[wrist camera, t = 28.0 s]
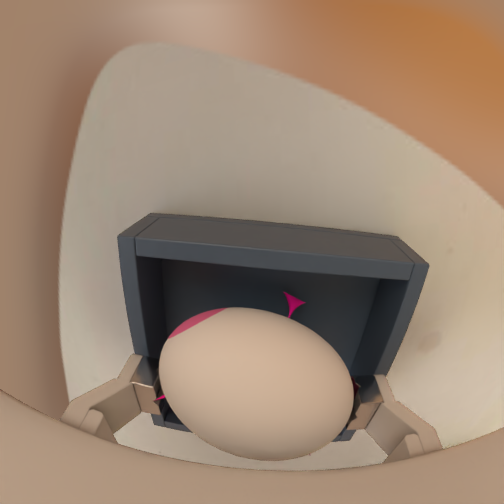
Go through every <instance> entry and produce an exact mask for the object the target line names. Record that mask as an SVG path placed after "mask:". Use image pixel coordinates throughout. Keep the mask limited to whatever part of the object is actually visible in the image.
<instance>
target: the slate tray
mask: <svg viewBox="0 0 504 504" xmlns="http://www.w3.org/2000/svg"><path fill="white" fill-rule="evenodd" d="M117 238H118V249H119V259H120V268H121V276H122V283H123V290H124V297H125V304H126V310H127V315H128V321H129V326H130V332H131V337H132V342H133V346H134V351H135V354H138V355H142V356H147V357H152V358H156V359H160V355H161V351H162V349H163V346H164V344H165V342H166V341H167V339H168V337H169V336H170V335H171V334H172V332H173V331H174V330H175V329H176V328H177V327H178V326H179V325H181V324H182V323H183V322H184V321H186V320H188V319H189V318H191V317H193V316H196V315H198V314H200V313H203V312H206V311H210V310H214V309H220V308H231V307H242V308H253V309H259V310H265V311H269V312H273V313H276V314H279V315H282V316H285V317H287V318H288V316H289V304H288V301H287V298H286V296H285V294H284V292H285V293H287V294H289V295H291V296H293V297H295V298H297V299H299V300H301V301H303V302H305V303H304V304H302V305H300V306H298V307H297V308H296V309H295V310H294V311H293V313H292V314H291V316H290V319H292V320H295V321H297V322H298V323H300V324H302V325H304V326H306V327H308V328H309V329H311V330H312V331H314V332H315V333H317V334H318V335H319V336H321V337H322V338H323V339H324V340H325V341H326V342H328V343H329V344H330V345H331V346H332V347H333V348H334V350H335V351H336V352H337V353H338V354H339V356H340V357H341V359H342V360H343V362H344V363H345V365H346V367H347V369H348V371H349V374H350V376H355V375H379V374H384V375H385V376H386V375H387V373H388V371H389V369H390V367H391V365H392V363H393V361H394V358H395V356H396V354H397V352H398V350H399V347H400V345H401V343H402V340H403V338H404V336H405V333H406V331H407V328H408V326H409V323H410V321H411V318H412V315H413V313H414V310H415V307H416V305H417V302H418V299H419V296H420V293H421V290H422V287H423V284H424V281H425V278H426V275H427V272H428V269H429V264H428V263H427V262H426V261H425V260H424V259H423V258H422V257H420V256H419V255H418V254H417V253H416V252H415V251H414V250H413V249H412V248H410V247H409V246H408V245H407V244H406V243H405V242H403V241H402V240H401V239H400V238H399V237H397V236H390V235H382V234H374V233H366V232H357V231H349V230H340V229H331V228H322V227H313V226H303V225H293V224H283V223H273V222H262V221H251V220H239V219H227V218H214V217H201V216H187V215H173V214H157V213H150V214H148V215H147V216H146V217H144V218H142V219H141V220H139V221H138V222H136V223H135V224H134V225H132V226H131V227H129V228H128V229H126V230H125V231H124V232H122V233H121V234H119V235H118V237H117ZM164 402H165V405H164V407H163V410H162V413H161V415H156V414H151V416H152V419H153V423H154V425H157V426H162V427H166V428H171V429H175V430H180V431H186V432H191V433H193V432H192V431H190V430H189V429H188V428H187V427H186V426H185V425H184V424H183V423H182V422H181V420H180V419H179V418H178V417H177V416H176V414H175V413H174V412H173V410H172V409H171V407H170V405H169V403H168V402H167V400H166V398H164ZM356 430H357V429H355V430H346V425H345V427H344V428H343V429H342V431H341V432H340V433H339V434H338V435H337V437H336V438H335V439H333V440H332V441H331V442H336V441H349V440H350V439H351V438H352V436H353V434H354V433H355V431H356Z"/></svg>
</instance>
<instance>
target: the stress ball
mask: <svg viewBox="0 0 504 504" xmlns="http://www.w3.org/2000/svg"><path fill="white" fill-rule="evenodd" d="M284 294H285V296H286V298H287V301H288V304H289V316H288V318H287V317H285V316H282V315H279V314H276V313H273V312H269V311H265V310H259V309H253V308H242V307H231V308H220V309H214V310H210V311H206V312H203V313H200V314H198V315H196V316H193V317H191V318H189V319H188V320H186V321H184V322H183V323H182V324H181V325H179V326H178V327H177V328H176V329H175V330H174V331H173V332H172V334H171V335H170V336H169V337H168V339H167V341H166V342H165V344H164V346H163V349H162V351H161V355H160V360H159V377H160V382H161V387H162V390H163V393H164V395H163V396H161V397H159V398H157V399H156V400H159V399H162V398H166V400H167V402H168V403H169V405H170V407H171V409H172V410H173V412H174V413H175V414H176V416H177V417H178V418H179V419H180V420H181V422H182V423H183V424H184V425H185V426H186V427H187V428H188V429H189V430H190V431H192V432H193V433H194V434H195V435H197V436H198V437H199V438H201V439H202V440H204V441H205V442H207V443H209V444H210V445H212V446H214V447H216V448H218V449H220V450H223V451H225V452H228V453H230V454H233V455H236V456H240V457H244V458H248V459H255V460H266V461H279V460H288V459H294V458H298V457H302V456H305V455H308V454H311V453H313V452H315V451H317V450H319V449H321V448H323V447H324V446H326V445H327V444H329V443H330V442H331V441H332V440H333V439H335V438H336V437H337V435H338V434H339V433H340V432H341V431H342V429H343V428H344V427H345V425H346V423H347V421H348V419H349V418H350V415H351V412H352V408H353V401H354V391H353V384H352V380H351V377H350V374H349V371H348V369H347V367H346V365H345V363H344V362H343V360H342V359H341V357H340V356H339V354H338V353H337V352H336V351H335V350H334V348H333V347H332V346H331V345H330V344H329V343H328V342H326V341H325V340H324V339H323V338H322V337H321V336H319V335H318V334H317V333H315V332H314V331H312V330H311V329H309V328H308V327H306V326H304V325H302V324H300V323H298V322H297V321H295V320H292V319H290V316H291V314H292V313H293V311H294V310H295V309H296V308H297V307H298V306H300V305H302V304H304V303H305V302H303V301H301V300H299V299H297V298H295V297H293V296H291V295H289V294H287V293H285V292H284ZM154 401H155V400H154Z"/></svg>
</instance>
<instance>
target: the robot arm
mask: <svg viewBox="0 0 504 504" xmlns="http://www.w3.org/2000/svg"><path fill="white" fill-rule="evenodd" d="M159 360H160V359H156V358H152V357H147V356H142V355H138V354H134V353H133V354H132V355H131V356H130V357H129V359H128V361H127V362H126V364H125V366H124V368H123V370H122V371H121V373H120V375H119V377H118V379H112V380H110V381H108V382H106V383H105V384H103V385H101V386H99V387H97V388H95V389H93V390H91V391H89V392H87V393H85V394H83V395H81V396H79V397H77V398H75V399H73V400H72V401H71V402H70V404H69V406H68V407H67V409H66V411H65V412H64V414H63V416H62V417H61V419H60V420H59V421H58V420H56V419H54V418H52V417H49V416H48V415H46V414H44V413H42V412H40V411H38V410H36V409H34V408H32V407H30V406H28V405H26V404H24V403H23V402H21V401H19V400H17V399H16V398H14V397H12V396H11V395H9V394H7V393H5V392H4V391H3V390H1V389H0V504H504V427H503V428H501V429H498V430H496V431H494V432H491V433H489V434H486V435H484V436H481V437H479V438H476V439H473V440H471V441H468V442H465V443H462V444H459V445H456V446H453V447H450V448H447V449H443V448H442V445H441V443H440V440H439V438H438V435H437V433H436V430H435V428H433V427H432V426H431V425H429V424H428V423H427V422H425V421H424V420H423V419H421V418H420V417H419V416H417V415H416V414H415V413H413V412H412V411H411V410H409V409H408V408H407V407H405V406H404V405H403V404H402V403H400V402H399V401H395V399H394V396H393V393H392V391H391V388H390V386H389V384H388V381H387V379H386V376H385V375H384V374H379V375H355V376H350V377H351V380H352V384H353V391H354V401H353V408H352V412H351V415H350V418H349V419H348V421H347V423H346V430H355V429H365V430H366V432H367V433H368V434H369V435H370V436H371V437H372V438H373V439H374V440H375V441H376V443H377V444H378V445H379V446H380V447H381V448H382V449H383V450H384V451H385V452H386V453H387V455H388V457H387V458H386V459H385V461H384V462H383V463H382V464H375V465H369V466H361V467H353V468H342V469H330V470H309V471H275V470H254V469H241V468H231V467H222V466H214V465H207V464H201V463H195V462H189V461H184V460H179V459H174V458H169V457H165V456H161V455H156V454H152V453H148V452H145V451H141V450H137V449H134V448H130V447H127V446H124V445H121V444H118V442H117V441H116V439H115V437H114V435H113V434H114V433H115V432H116V431H118V430H119V429H120V428H122V427H123V426H124V425H126V424H127V423H128V422H130V421H131V420H132V419H133V418H135V417H136V416H137V415H139V414H140V413H141V411H142V412H147V413H151V414H156V415H161V413H162V410H163V407H164V405H165V402H164V398H162V399H159V400H156V399H157V398H159V397H161V396H163V395H164V393H163V390H162V387H161V382H160V377H159ZM154 400H155V401H154Z"/></svg>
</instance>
